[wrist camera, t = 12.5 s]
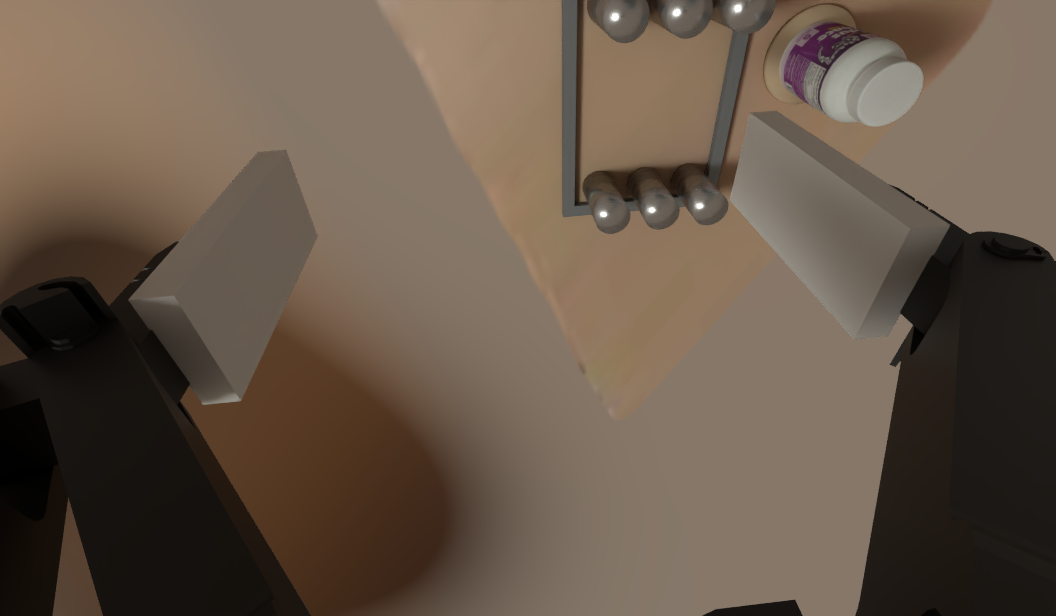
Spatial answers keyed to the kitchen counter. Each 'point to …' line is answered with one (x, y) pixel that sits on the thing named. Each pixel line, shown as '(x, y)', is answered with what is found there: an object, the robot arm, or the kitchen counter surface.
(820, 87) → the pill bottle
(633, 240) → the kitchen counter surface
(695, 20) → the spacers
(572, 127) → the parts tray rim
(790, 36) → the cork coaster
